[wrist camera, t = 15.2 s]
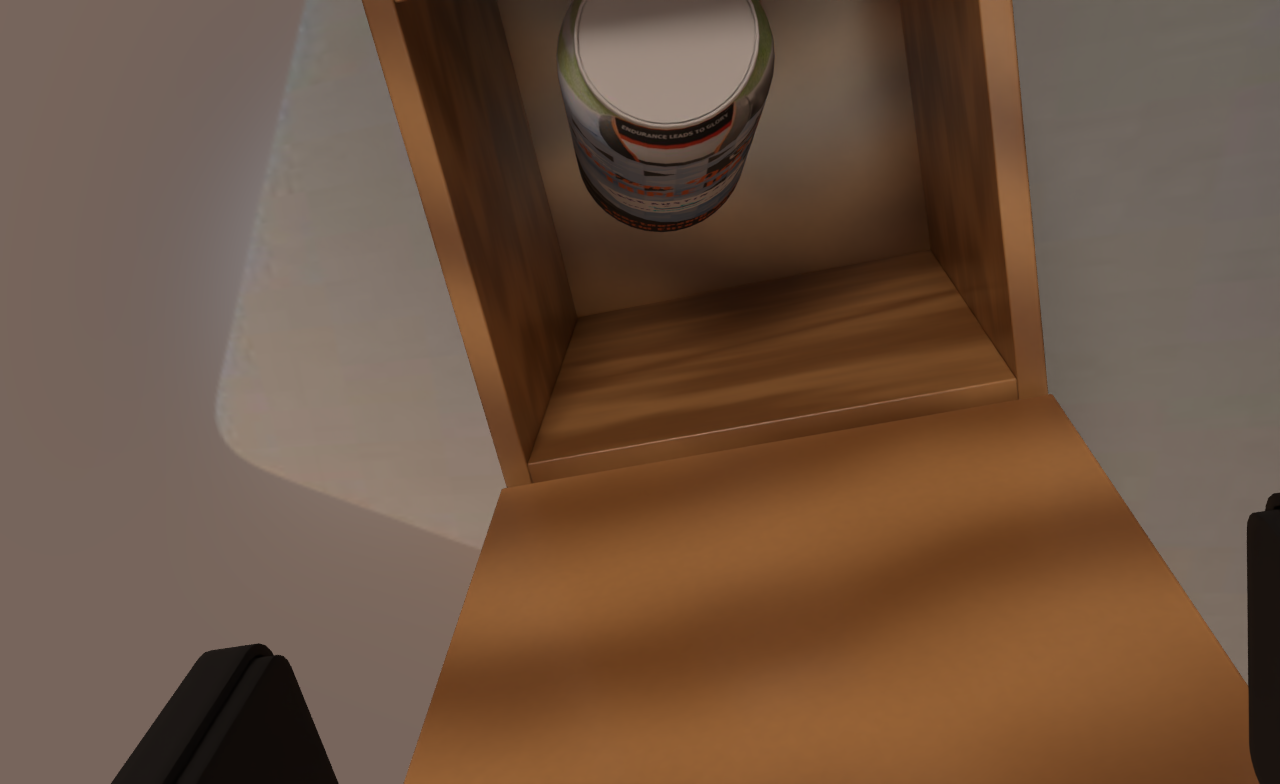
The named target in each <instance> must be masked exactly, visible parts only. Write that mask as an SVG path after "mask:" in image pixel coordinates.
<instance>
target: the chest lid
mask: <svg viewBox="0 0 1280 784" xmlns="http://www.w3.org/2000/svg"><path fill="white" fill-rule="evenodd" d="M404 784H1259V782H1258V779H1257V777H1256V774H1255V771H1254V768H1253V765H1252V761H1251V756H1250V749H1249V693H1248V685H1247V684H1246V682H1245V681H1244V679H1243V678H1242V676H1241V675H1240V673H1239V672H1238V670H1237V669H1236V667H1235V666H1234V664H1233V663H1232V661H1231V660H1230V658H1229V657H1228V655H1227V654H1226V652H1225V651H1224V649H1223V648H1222V646H1221V645H1220V643H1219V642H1218V640H1217V639H1216V637H1215V636H1214V634H1213V633H1212V631H1211V630H1210V629H1209V627H1208V626H1207V624H1206V623H1205V621H1204V620H1203V618H1202V617H1201V615H1200V614H1199V612H1198V611H1197V609H1196V608H1195V606H1194V605H1193V603H1192V602H1191V600H1190V599H1189V597H1188V596H1187V594H1186V593H1185V591H1184V590H1183V588H1182V587H1181V585H1180V584H1179V582H1178V581H1177V579H1176V578H1175V576H1174V575H1173V573H1172V572H1171V570H1170V569H1169V567H1168V566H1167V564H1166V563H1165V561H1164V560H1163V558H1162V557H1161V555H1160V554H1159V552H1158V551H1157V550H1156V548H1155V547H1154V545H1153V544H1152V542H1151V541H1150V539H1149V538H1148V536H1147V535H1146V533H1145V532H1144V530H1143V529H1142V527H1141V526H1140V524H1139V523H1138V521H1137V520H1136V518H1135V517H1134V515H1133V514H1132V512H1131V511H1130V509H1129V508H1128V506H1127V505H1126V503H1125V502H1124V500H1123V499H1122V497H1121V496H1120V494H1119V493H1118V491H1117V490H1116V488H1115V487H1114V485H1113V484H1112V482H1111V481H1110V479H1109V478H1108V476H1107V475H1106V473H1105V472H1104V471H1103V469H1102V468H1101V466H1100V465H1099V463H1098V462H1097V460H1096V459H1095V457H1094V456H1093V454H1092V453H1091V451H1090V450H1089V448H1088V447H1087V445H1086V444H1085V442H1084V441H1083V439H1082V438H1081V436H1080V435H1079V433H1078V432H1077V430H1076V429H1075V427H1074V426H1073V424H1072V423H1071V421H1070V420H1069V418H1068V417H1067V415H1066V414H1065V412H1064V411H1063V409H1062V408H1061V406H1060V405H1059V403H1058V402H1057V400H1056V399H1055V397H1054V396H1053V395H1052V394H1049V395H1043V396H1038V397H1032V398H1026V399H1020V400H1014V401H1009V402H1003V403H997V404H991V405H985V406H980V407H974V408H968V409H962V410H956V411H951V412H945V413H939V414H933V415H927V416H921V417H916V418H910V419H904V420H898V421H892V422H887V423H881V424H875V425H869V426H863V427H858V428H852V429H846V430H840V431H834V432H829V433H823V434H817V435H811V436H805V437H800V438H794V439H788V440H782V441H776V442H771V443H765V444H759V445H753V446H747V447H742V448H736V449H730V450H724V451H718V452H712V453H707V454H701V455H695V456H689V457H683V458H678V459H672V460H666V461H660V462H654V463H649V464H643V465H637V466H631V467H625V468H620V469H614V470H608V471H602V472H596V473H591V474H585V475H579V476H573V477H567V478H562V479H556V480H550V481H544V482H538V483H533V484H527V485H521V486H515V487H509V488H504V489H502V490H501V493H500V496H499V499H498V502H497V505H496V508H495V511H494V514H493V517H492V520H491V523H490V526H489V529H488V532H487V535H486V538H485V541H484V544H483V547H482V550H481V553H480V556H479V559H478V562H477V565H476V568H475V571H474V574H473V577H472V580H471V583H470V586H469V589H468V592H467V595H466V598H465V601H464V604H463V607H462V610H461V613H460V616H459V619H458V622H457V625H456V628H455V631H454V634H453V637H452V640H451V643H450V646H449V649H448V652H447V655H446V658H445V661H444V664H443V667H442V670H441V673H440V676H439V679H438V682H437V685H436V688H435V691H434V694H433V697H432V700H431V703H430V706H429V709H428V712H427V715H426V718H425V721H424V724H423V727H422V730H421V733H420V736H419V739H418V742H417V745H416V748H415V751H414V754H413V757H412V760H411V763H410V766H409V769H408V772H407V775H406V778H405V781H404Z"/></svg>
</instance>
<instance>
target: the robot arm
mask: <svg viewBox="0 0 1280 784" xmlns="http://www.w3.org/2000/svg"><path fill="white" fill-rule="evenodd" d="M1247 591H1248V693H1249V749H1250V756H1251V761H1252V765H1253V768H1254V771H1255V774H1256V777H1257V779H1258V782H1259V784H1280V493H1275V494H1272V495H1271V496H1270V497H1269V498H1268V501H1267V504H1266V509H1265V511H1263V512H1256V513H1252V514H1251V515H1250V516H1249V519H1248V522H1247ZM111 784H338V781H337V779H336V776H335V774H334V771H333V769H332V766H331V764H330V761H329V759H328V757H327V754H326V751H325V749H324V746H323V744H322V742H321V739H320V737H319V734H318V732H317V729H316V727H315V724H314V722H313V720H312V717H311V714H310V712H309V710H308V707H307V705H306V702H305V700H304V697H303V695H302V692H301V690H300V687H299V685H298V682H297V680H296V677H295V675H294V672H293V670H292V667H291V666H290V664H289V662H288V660H287V659H285V657H284V656H281V655H275V656H274V655H273V653H272V651H271V650H270V649H269V648H268V647H267V646H265V645H262V644H253V645H245V646H238V647H232V648H225V649H218V650H211V651H208V652H205V653H204V654H203V655H202V656H201V657H200V658H199V659H198V660H197V661H196V663H195V664H194V666H193V667H192V669H191V670H190V672H189V673H188V674H187V676H186V677H185V679H184V680H183V681H182V683H181V684H180V686H179V687H178V689H177V690H176V691H175V693H174V694H173V696H172V697H171V699H170V700H169V701H168V703H167V704H166V706H165V707H164V709H163V710H162V711H161V713H160V714H159V716H158V717H157V719H156V720H155V722H154V723H153V724H152V726H151V727H150V729H149V730H148V732H147V733H146V734H145V736H144V737H143V739H142V740H141V741H140V743H139V744H138V746H137V747H136V749H135V750H134V751H133V753H132V754H131V756H130V757H129V759H128V760H127V761H126V763H125V764H124V766H123V767H122V769H121V770H120V771H119V773H118V774H117V776H116V777H115V779H114V780H113V781H112V783H111Z"/></svg>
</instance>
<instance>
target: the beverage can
mask: <svg viewBox="0 0 1280 784" xmlns="http://www.w3.org/2000/svg"><path fill="white" fill-rule="evenodd" d="M556 58H557V70H558V78H559V82H560V87H561V91H562V96H563V100H564V105H565V109H566V114H567V118H568V123H569V127H570V131H571V136H572V140H573V145H574V149H575V154H576V158H577V163H578V167H579V170H580V174H581V178H582V180H583V182H584V184H585V186H586V188H587V190H588V192H589V193H590V195H591V196H592V197H593V199H594V200H595V202H596V203H597V204H598V205H599V206H600V207H601V208H602V209H603V210H604V211H605V212H606V213H608V214H609V215H610V216H612V217H613V218H615V219H616V220H618V221H619V222H622V223H624V224H626V225H628V226H630V227H633V228H637V229H640V230H644V231H652V232H669V231H677V230H681V229H685V228H688V227H691V226H693V225H695V224H698V223H700V222H702V221H704V220H705V219H707V218H708V217H709V216H711V215H712V214H714V213H715V212H716V211H717V210H718V209H719V208H720V207H721V206H722V205H723V204H724V203H725V202H726V201H727V199H728V198H729V197H730V195H731V194H732V192H733V191H734V189H735V187H736V185H737V183H738V180H739V178H740V176H741V173H742V170H743V167H744V164H745V161H746V158H747V155H748V152H749V149H750V146H751V143H752V140H753V137H754V134H755V132H756V129H757V126H758V123H759V120H760V117H761V114H762V111H763V108H764V105H765V102H766V99H767V96H768V93H769V89H770V85H771V82H772V78H773V71H774V59H775V53H774V43H773V35H772V32H771V28H770V25H769V21H768V18H767V16H766V14H765V12H764V10H763V8H762V6H761V4H760V1H759V0H573V1H572V2H571V4H570V6H569V8H568V10H567V12H566V15H565V17H564V19H563V22H562V26H561V29H560V33H559V37H558V45H557V56H556Z"/></svg>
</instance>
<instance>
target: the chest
mask: <svg viewBox="0 0 1280 784" xmlns="http://www.w3.org/2000/svg"><path fill="white" fill-rule="evenodd" d="M572 1H573V0H362V3H363V6H364V10H365V13H366V16H367V20H368V23H369V26H370V30H371V33H372V36H373V40H374V43H375V46H376V50H377V53H378V56H379V60H380V63H381V67H382V70H383V73H384V77H385V80H386V83H387V87H388V90H389V93H390V97H391V100H392V103H393V107H394V110H395V114H396V117H397V120H398V124H399V127H400V130H401V134H402V137H403V140H404V144H405V147H406V150H407V154H408V157H409V161H410V164H411V167H412V171H413V174H414V177H415V181H416V184H417V187H418V191H419V194H420V197H421V201H422V204H423V208H424V211H425V214H426V218H427V221H428V224H429V228H430V231H431V234H432V238H433V241H434V244H435V248H436V251H437V255H438V258H439V261H440V265H441V268H442V271H443V275H444V278H445V281H446V285H447V288H448V291H449V295H450V298H451V302H452V305H453V308H454V312H455V315H456V318H457V322H458V325H459V328H460V332H461V335H462V338H463V342H464V345H465V349H466V352H467V355H468V359H469V362H470V365H471V369H472V372H473V375H474V379H475V382H476V385H477V389H478V392H479V396H480V399H481V402H482V406H483V409H484V412H485V416H486V419H487V422H488V426H489V429H490V432H491V436H492V439H493V443H494V446H495V449H496V453H497V456H498V459H499V463H500V466H501V469H502V473H503V476H504V479H505V483H506V486H507V488H509V487H515V486H521V485H527V484H533V483H538V482H544V481H550V480H556V479H562V478H567V477H573V476H579V475H585V474H591V473H596V472H602V471H608V470H614V469H620V468H625V467H631V466H637V465H643V464H649V463H654V462H660V461H666V460H672V459H678V458H683V457H689V456H695V455H701V454H707V453H712V452H718V451H724V450H730V449H736V448H742V447H747V446H753V445H759V444H765V443H771V442H776V441H782V440H788V439H794V438H800V437H805V436H811V435H817V434H823V433H829V432H834V431H840V430H846V429H852V428H858V427H863V426H869V425H875V424H881V423H887V422H892V421H898V420H904V419H910V418H916V417H921V416H927V415H933V414H939V413H945V412H951V411H956V410H962V409H968V408H974V407H980V406H985V405H991V404H997V403H1003V402H1009V401H1014V400H1020V399H1026V398H1032V397H1038V396H1043V395H1048V387H1047V376H1046V365H1045V354H1044V343H1043V332H1042V321H1041V310H1040V299H1039V289H1038V278H1037V267H1036V256H1035V245H1034V234H1033V223H1032V212H1031V201H1030V190H1029V179H1028V168H1027V157H1026V146H1025V135H1024V125H1023V114H1022V103H1021V92H1020V81H1019V70H1018V59H1017V48H1016V37H1015V26H1014V15H1013V4H1012V0H759V1H760V4H761V6H762V8H763V10H764V12H765V14H766V16H767V18H768V21H769V25H770V28H771V32H772V35H773V43H774V53H775V59H774V71H773V78H772V82H771V85H770V89H769V93H768V96H767V99H766V102H765V105H764V108H763V111H762V114H761V117H760V120H759V123H758V126H757V129H756V132H755V134H754V137H753V140H752V143H751V146H750V149H749V152H748V155H747V158H746V161H745V164H744V167H743V170H742V173H741V176H740V178H739V180H738V183H737V185H736V187H735V189H734V191H733V192H732V194H731V195H730V197H729V198H728V199H727V201H726V202H725V203H724V204H723V205H722V206H721V207H720V208H719V209H718V210H717V211H716V212H715V213H714V214H712V215H711V216H709V217H708V218H707V219H705V220H704V221H702V222H700V223H698V224H695V225H693V226H691V227H688V228H685V229H681V230H677V231H669V232H652V231H644V230H640V229H637V228H633V227H630V226H628V225H626V224H624V223H622V222H619V221H618V220H616V219H615V218H613V217H612V216H610V215H609V214H608V213H606V212H605V211H604V210H603V209H602V208H601V207H600V206H599V205H598V204H597V203H596V202H595V200H594V199H593V197H592V196H591V195H590V193H589V192H588V190H587V188H586V186H585V184H584V182H583V180H582V178H581V174H580V170H579V167H578V163H577V158H576V154H575V149H574V145H573V140H572V136H571V131H570V127H569V123H568V118H567V114H566V109H565V105H564V100H563V96H562V91H561V87H560V82H559V78H558V70H557V58H556V56H557V45H558V37H559V33H560V29H561V26H562V22H563V19H564V17H565V15H566V12H567V10H568V8H569V6H570V4H571V2H572Z"/></svg>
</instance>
